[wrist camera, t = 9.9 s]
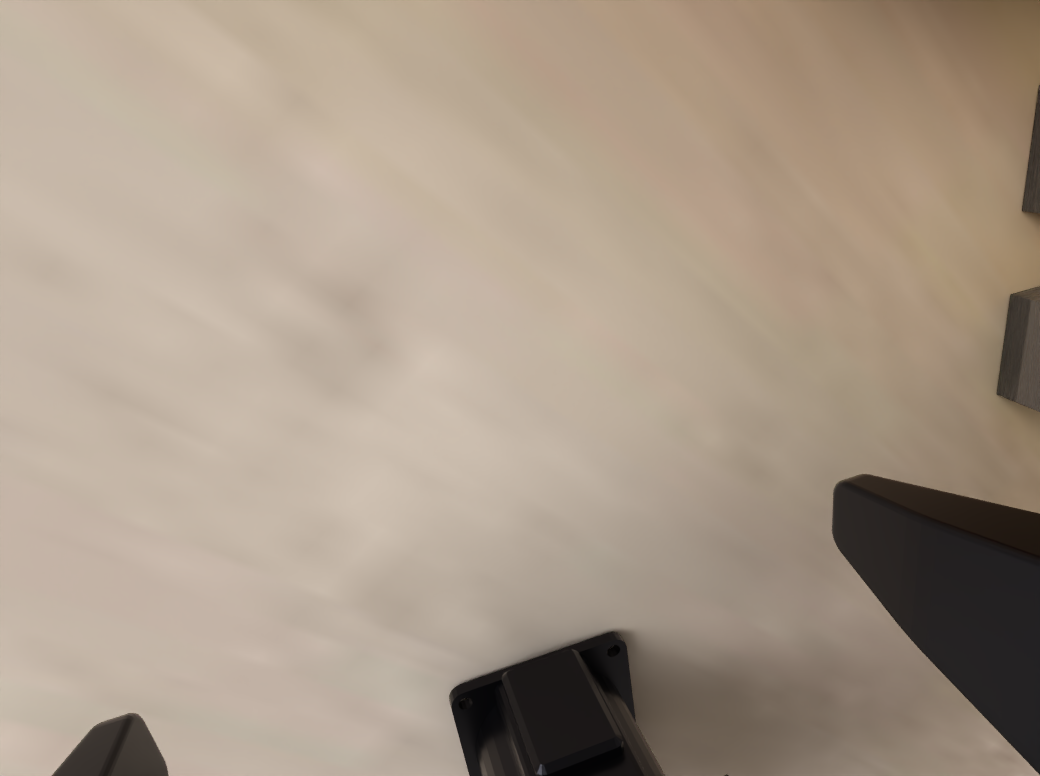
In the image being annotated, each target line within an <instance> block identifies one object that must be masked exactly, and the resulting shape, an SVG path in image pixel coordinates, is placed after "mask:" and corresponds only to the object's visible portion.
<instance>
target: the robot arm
mask: <svg viewBox="0 0 1040 776" xmlns="http://www.w3.org/2000/svg"><path fill="white" fill-rule="evenodd" d="M832 533H833V538H834V541H835V543H836V545H837V547H838V549H839V550H840V551H841V553H842V554H843V555H844V557H845V558H846V559H847V560H848V562H849V563H850V564H851V565H852V567H853V568H854V569H855V570H856V572H857V573H858V574H859V575H860V577H861V578H862V579H863V581H864V582H865V583H866V584H867V586H868V587H869V588H870V589H871V591H872V592H873V593H874V594H875V596H876V597H877V598H878V599H879V601H880V602H881V603H882V605H883V606H884V607H885V608H886V610H887V611H888V612H889V613H890V615H891V616H892V617H893V618H894V620H895V621H896V622H897V624H898V625H899V626H900V627H901V628H902V629H903V631H904V632H905V633H906V634H907V635H908V637H909V638H910V639H911V640H912V641H913V642H914V643H915V644H916V646H917V647H918V648H919V649H920V650H921V651H922V652H923V653H924V654H925V655H926V656H927V657H928V658H929V659H930V661H931V662H932V663H933V664H934V665H935V666H936V667H937V668H938V669H939V670H940V671H941V672H942V673H943V674H944V675H945V676H946V677H947V678H948V679H949V680H950V681H951V682H952V684H953V685H954V686H955V687H956V688H957V689H958V690H959V691H960V692H961V693H962V694H963V695H964V696H965V697H966V698H967V699H968V700H969V701H970V702H971V703H972V704H973V705H974V707H975V708H976V709H977V710H978V711H979V712H980V713H981V714H982V715H983V716H984V717H985V718H986V719H987V720H988V721H989V722H990V723H991V724H992V725H993V726H994V727H995V728H996V730H997V731H998V732H999V733H1000V734H1001V735H1002V736H1003V737H1004V738H1005V739H1006V740H1007V741H1008V742H1009V743H1010V744H1011V745H1012V746H1013V747H1014V748H1015V749H1016V750H1017V751H1018V753H1019V754H1020V755H1021V756H1022V757H1023V758H1024V759H1025V760H1026V761H1027V762H1028V763H1029V764H1030V765H1031V766H1032V767H1033V768H1034V769H1035V770H1036V771H1037V772H1038V773H1039V774H1040V514H1039V513H1034V512H1030V511H1026V510H1021V509H1017V508H1013V507H1008V506H1004V505H1000V504H995V503H991V502H987V501H982V500H978V499H973V498H969V497H965V496H960V495H956V494H952V493H947V492H943V491H939V490H934V489H930V488H926V487H921V486H917V485H912V484H908V483H904V482H899V481H895V480H891V479H886V478H882V477H878V476H873V475H869V474H861V475H857V476H854V477H851V478H848V479H845V480H842V481H840V482H838V483H837V484H836V486H835V488H834V492H833V518H832ZM613 645H614V646H613ZM611 646H613V647H612V648H610V647H611ZM609 648H610V649H609ZM464 698H468V699H466V700H463V701H461V700H462V699H464ZM449 701H450V705H451V708H452V712H453V716H454V720H455V723H456V727H457V731H458V734H459V738H460V742H461V746H462V749H463V753H464V757H465V760H466V764H467V768H468V772H469V775H470V776H665V774H664V773H663V771H662V769H661V767H660V765H659V764H658V762H657V760H656V758H655V756H654V755H653V753H652V751H651V749H650V747H649V746H648V744H647V742H646V740H645V738H644V736H643V735H642V733H641V731H640V729H639V727H638V726H637V724H636V721H635V713H634V704H633V696H632V688H631V680H630V672H629V663H628V655H627V647H626V644H625V642H624V640H623V639H622V637H621V635H619V634H618V633H615V632H610V633H606V634H603V635H601V636H598V637H595V638H592V639H589V640H586V641H583V642H581V643H578V644H575V645H572V646H569V647H566V648H563V649H560V650H558V651H555V652H552V653H549V654H546V655H543V656H540V657H538V658H535V659H532V660H529V661H526V662H523V663H520V664H518V665H515V666H512V667H509V668H506V669H503V670H500V671H498V672H495V673H492V674H489V675H486V676H483V677H480V678H477V679H475V680H472V681H469V682H466V683H463V684H460V685H458V686H457V687H455V688H454V689H453V690H452V691H451V693H450V695H449ZM52 776H168V770H167V766H166V763H165V760H164V758H163V756H162V754H161V752H160V750H159V749H158V747H157V745H156V743H155V741H154V739H153V737H152V735H151V733H150V731H149V730H148V728H147V726H146V724H145V722H144V720H143V719H142V718H141V717H140V716H139V715H138V714H136V713H128V714H125V715H122V716H119V717H116V718H113V719H110V720H107V721H104V722H101V723H99V724H97V725H96V726H94V727H93V728H92V729H91V730H90V731H89V732H88V734H87V735H86V736H85V737H84V738H83V739H82V741H81V742H80V743H79V744H78V745H77V747H76V748H75V749H74V750H73V751H72V752H71V754H70V755H69V756H68V757H67V758H66V759H65V761H64V762H63V763H62V764H61V765H60V767H59V768H58V769H57V770H56V771H55V772H54V774H53V775H52ZM725 776H728V775H725Z"/></svg>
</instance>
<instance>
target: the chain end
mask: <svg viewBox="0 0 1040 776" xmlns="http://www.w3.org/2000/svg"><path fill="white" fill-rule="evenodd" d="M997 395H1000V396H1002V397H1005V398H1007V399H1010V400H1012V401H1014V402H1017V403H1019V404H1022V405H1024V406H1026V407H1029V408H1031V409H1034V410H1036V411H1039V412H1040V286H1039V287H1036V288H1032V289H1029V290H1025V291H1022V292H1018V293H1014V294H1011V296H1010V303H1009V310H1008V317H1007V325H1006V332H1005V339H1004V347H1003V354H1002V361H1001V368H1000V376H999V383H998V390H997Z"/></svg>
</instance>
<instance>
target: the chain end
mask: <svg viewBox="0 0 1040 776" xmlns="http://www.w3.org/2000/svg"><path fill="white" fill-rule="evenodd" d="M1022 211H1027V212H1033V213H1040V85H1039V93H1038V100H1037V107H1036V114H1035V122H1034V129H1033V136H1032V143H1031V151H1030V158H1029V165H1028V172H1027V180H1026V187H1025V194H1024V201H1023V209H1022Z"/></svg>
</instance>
